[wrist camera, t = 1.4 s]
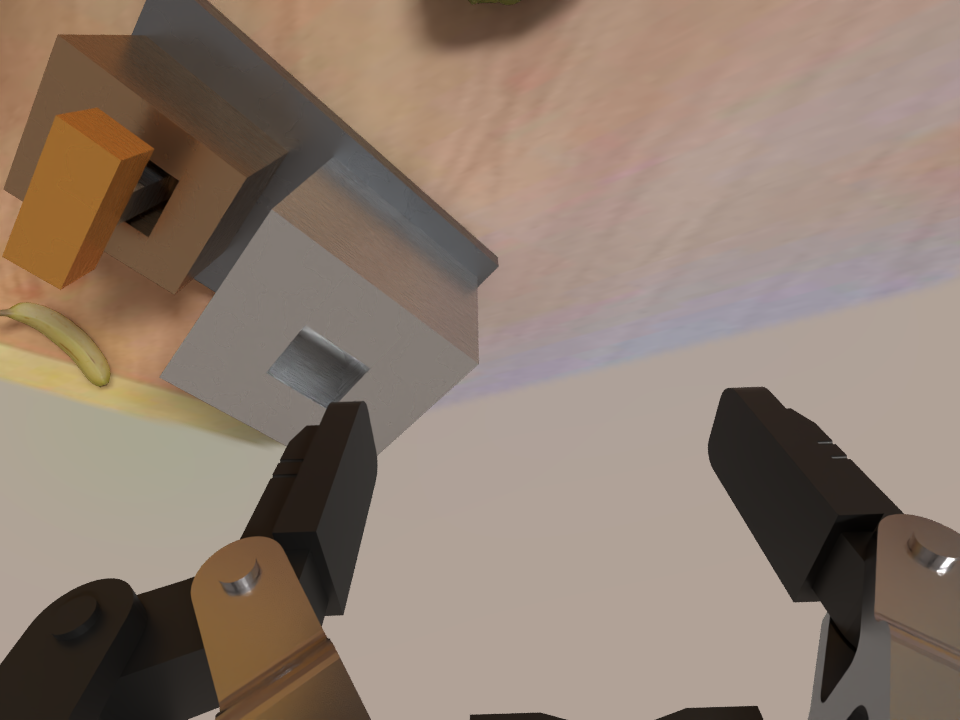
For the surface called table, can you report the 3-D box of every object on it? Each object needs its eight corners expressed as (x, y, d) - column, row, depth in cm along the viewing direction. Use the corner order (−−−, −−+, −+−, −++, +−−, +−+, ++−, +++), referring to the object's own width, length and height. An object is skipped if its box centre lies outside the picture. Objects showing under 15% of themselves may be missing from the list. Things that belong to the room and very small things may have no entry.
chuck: (81, 188, 29) (-110, 261, 20) (176, -27, 23) (-28, -72, 14) (375, 381, 38) (342, 497, 28) (497, 257, 32) (508, 350, 22)
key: (164, 226, 27) (60, 289, 20) (124, 199, 26) (2, 256, 19) (220, 126, 24) (120, 160, 17) (177, 92, 23) (55, 115, 16)
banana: (15, 290, 33) (-37, 318, 30) (31, 280, 33) (-19, 307, 29) (113, 374, 37) (78, 407, 34) (129, 366, 37) (95, 399, 33)
